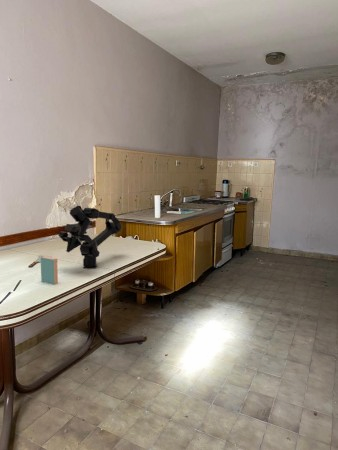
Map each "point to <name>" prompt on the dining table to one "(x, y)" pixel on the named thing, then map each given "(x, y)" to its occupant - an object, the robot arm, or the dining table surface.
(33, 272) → the dining table surface
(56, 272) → the glazed tile
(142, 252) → the dining table surface
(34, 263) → the kitchen cleaver
